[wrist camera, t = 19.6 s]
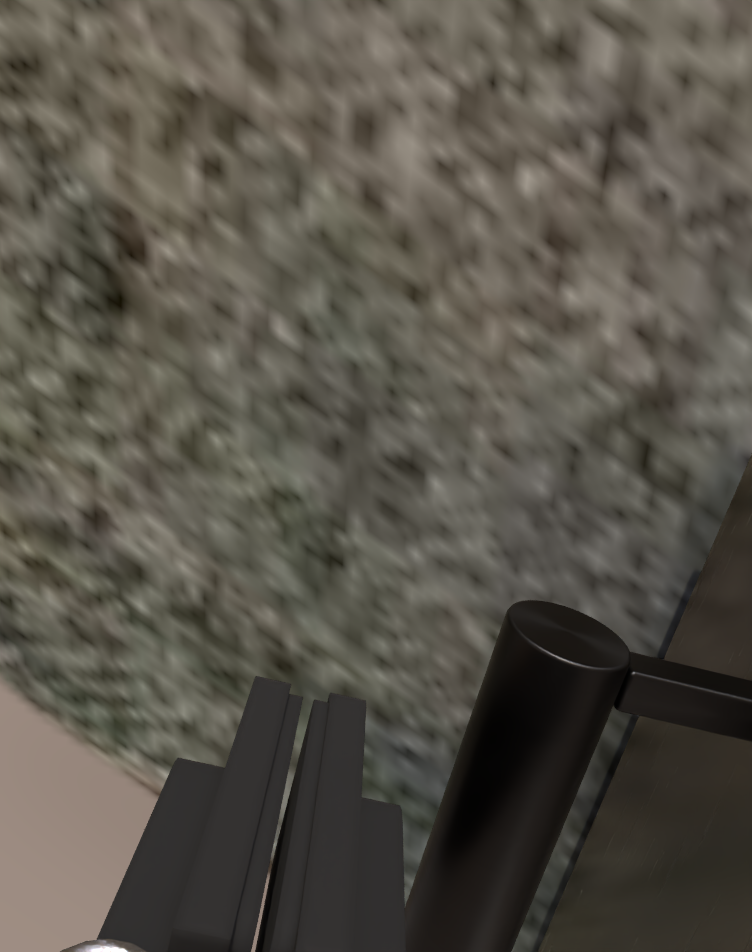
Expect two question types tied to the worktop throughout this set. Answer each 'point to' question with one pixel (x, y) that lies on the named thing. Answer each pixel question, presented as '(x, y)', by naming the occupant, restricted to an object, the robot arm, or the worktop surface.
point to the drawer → (630, 792)
